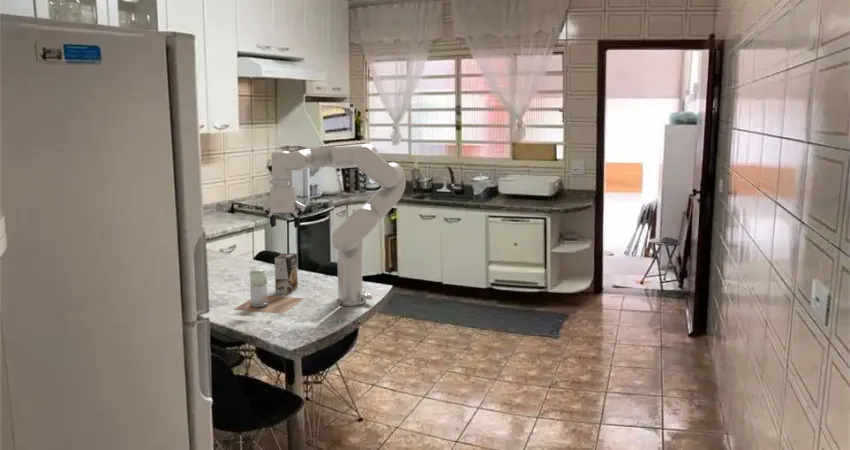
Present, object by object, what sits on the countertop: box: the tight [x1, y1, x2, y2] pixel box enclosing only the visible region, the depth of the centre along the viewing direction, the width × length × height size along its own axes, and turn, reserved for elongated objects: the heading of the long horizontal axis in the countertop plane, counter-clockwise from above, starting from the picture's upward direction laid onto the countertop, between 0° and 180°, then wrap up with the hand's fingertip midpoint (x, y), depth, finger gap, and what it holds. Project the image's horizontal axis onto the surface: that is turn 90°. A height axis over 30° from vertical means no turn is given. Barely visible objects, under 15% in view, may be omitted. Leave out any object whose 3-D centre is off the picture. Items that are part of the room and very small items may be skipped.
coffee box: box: [274, 253, 299, 295], centre depth 282 cm, size 9×6×16 cm
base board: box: [233, 294, 305, 315], centre depth 264 cm, size 20×20×2 cm
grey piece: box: [249, 284, 268, 308], centre depth 261 cm, size 7×7×8 cm
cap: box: [249, 268, 268, 287], centre depth 260 cm, size 6×6×6 cm
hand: (285, 226), depth 270 cm, fingers open, 9 cm apart
